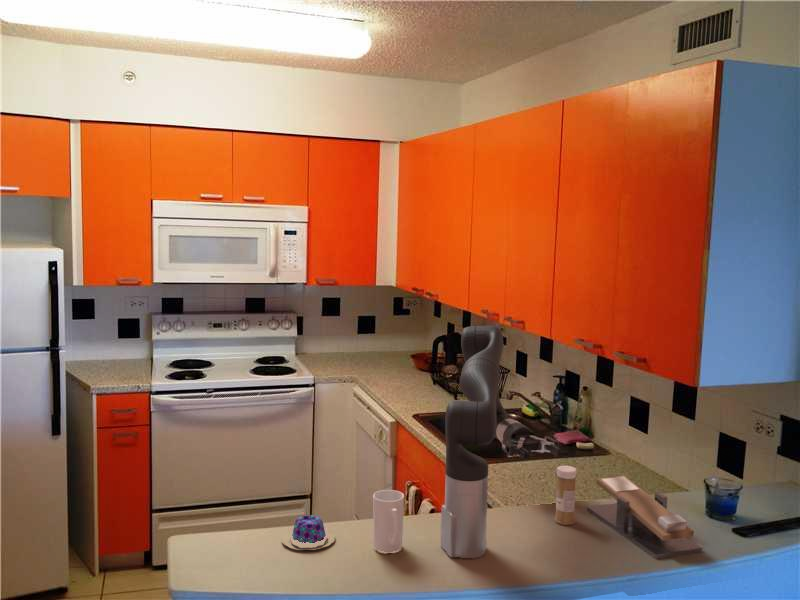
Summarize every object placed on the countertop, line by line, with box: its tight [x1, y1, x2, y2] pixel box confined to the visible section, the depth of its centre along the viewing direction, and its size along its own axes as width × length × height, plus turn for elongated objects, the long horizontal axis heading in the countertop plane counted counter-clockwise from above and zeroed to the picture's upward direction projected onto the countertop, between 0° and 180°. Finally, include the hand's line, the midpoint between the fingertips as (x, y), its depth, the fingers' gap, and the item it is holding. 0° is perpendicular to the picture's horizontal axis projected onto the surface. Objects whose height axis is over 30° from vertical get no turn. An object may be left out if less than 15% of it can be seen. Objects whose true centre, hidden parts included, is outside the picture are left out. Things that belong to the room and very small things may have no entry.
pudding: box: [292, 514, 326, 543], centre depth 161 cm, size 12×12×5 cm
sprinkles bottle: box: [554, 465, 578, 526], centre depth 173 cm, size 5×5×14 cm
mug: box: [372, 489, 405, 552], centre depth 156 cm, size 10×7×12 cm, turn 16°
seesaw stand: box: [586, 492, 703, 560], centre depth 169 cm, size 12×27×8 cm, turn 18°
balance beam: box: [596, 475, 695, 540], centre depth 169 cm, size 8×26×3 cm, turn 18°
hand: (543, 454), depth 183 cm, fingers open, 8 cm apart
